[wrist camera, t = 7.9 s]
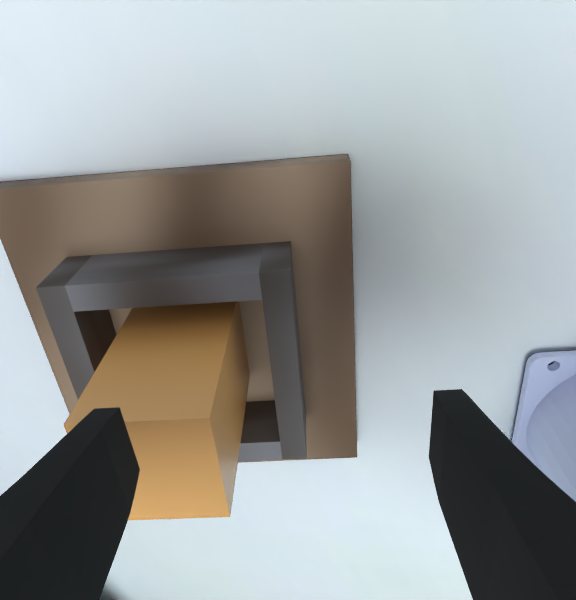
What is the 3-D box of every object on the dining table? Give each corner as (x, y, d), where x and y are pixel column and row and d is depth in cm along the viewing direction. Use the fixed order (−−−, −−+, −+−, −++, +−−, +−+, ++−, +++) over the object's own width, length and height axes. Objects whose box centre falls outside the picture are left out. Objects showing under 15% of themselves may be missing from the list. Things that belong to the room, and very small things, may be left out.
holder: (347, 154, 18) (358, 181, 14) (355, 441, 24) (362, 501, 21) (-4, 182, 18) (-65, 213, 15) (98, 453, 25) (70, 512, 22)
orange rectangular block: (238, 293, 19) (209, 417, 13) (250, 374, 21) (230, 516, 15) (137, 298, 19) (63, 424, 13) (158, 379, 21) (102, 521, 15)
